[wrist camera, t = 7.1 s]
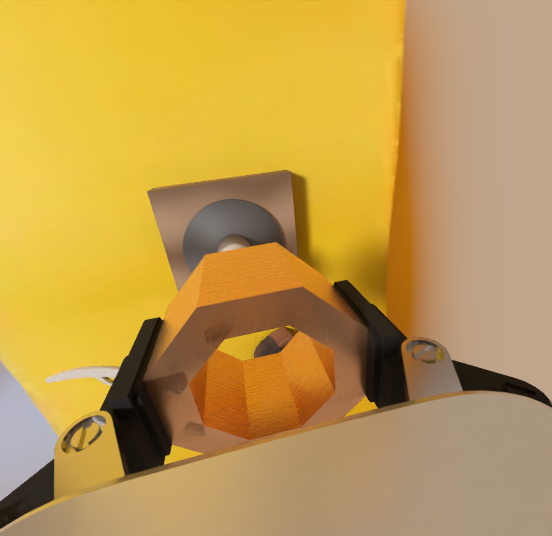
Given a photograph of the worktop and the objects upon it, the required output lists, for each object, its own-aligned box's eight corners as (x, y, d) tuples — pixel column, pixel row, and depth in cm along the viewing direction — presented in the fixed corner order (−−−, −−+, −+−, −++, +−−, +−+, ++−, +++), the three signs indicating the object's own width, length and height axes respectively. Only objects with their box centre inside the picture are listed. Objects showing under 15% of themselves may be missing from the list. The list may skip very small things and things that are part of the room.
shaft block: (152, 188, 23) (113, 211, 15) (285, 170, 25) (319, 181, 16) (187, 303, 28) (172, 369, 20) (296, 282, 30) (325, 336, 21)
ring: (152, 263, 10) (115, 323, 7) (323, 233, 11) (371, 272, 8) (196, 390, 13) (186, 479, 10) (329, 359, 14) (365, 430, 11)
